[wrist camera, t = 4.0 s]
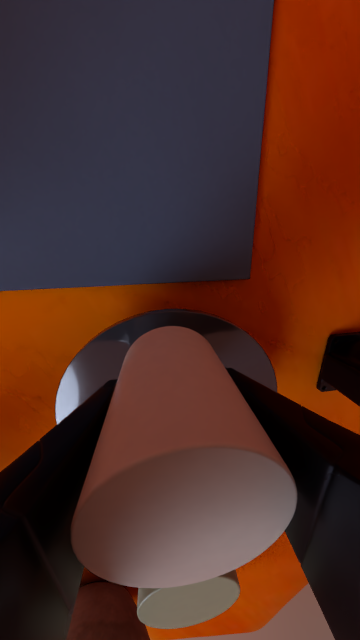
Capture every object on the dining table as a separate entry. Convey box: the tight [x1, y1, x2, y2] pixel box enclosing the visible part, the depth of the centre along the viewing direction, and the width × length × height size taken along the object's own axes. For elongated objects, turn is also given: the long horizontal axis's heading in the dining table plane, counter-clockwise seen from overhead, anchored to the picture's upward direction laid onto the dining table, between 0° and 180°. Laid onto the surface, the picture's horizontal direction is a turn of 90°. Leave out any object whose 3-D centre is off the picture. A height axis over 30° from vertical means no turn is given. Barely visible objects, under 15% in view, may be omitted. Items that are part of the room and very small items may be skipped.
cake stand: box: [55, 309, 277, 424], centre depth 15 cm, size 15×15×5 cm
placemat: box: [0, 0, 274, 291], centre depth 11 cm, size 20×18×1 cm
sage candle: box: [137, 569, 240, 629], centre depth 11 cm, size 5×5×6 cm
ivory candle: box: [71, 326, 297, 588], centre depth 7 cm, size 5×5×6 cm
